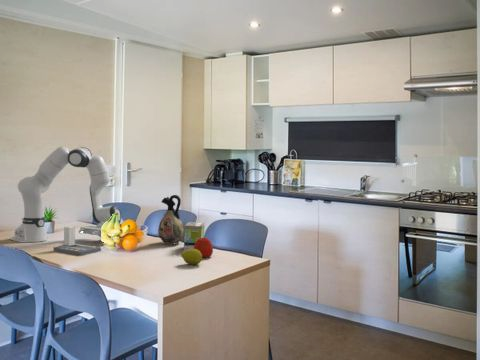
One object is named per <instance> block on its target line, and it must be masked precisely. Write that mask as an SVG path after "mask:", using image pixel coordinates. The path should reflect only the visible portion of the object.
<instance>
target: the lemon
mask: <svg viewBox="0 0 480 360" xmlns="http://www.w3.org/2000/svg"><path fill="white" fill-rule="evenodd" d="M180 256H181V258H182V259H183V261H184V262H185V263H186V264H188V265H189V266H196V265H199V264H200V263H201V262H202V260H203V257H202V254H201V252H200V251H199V250H197V249H188V250H186V251H184V250H183V251H182V252H181V254H180Z"/></svg>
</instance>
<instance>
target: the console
mask: <svg viewBox="0 0 480 360" xmlns="http://www.w3.org/2000/svg"><path fill="white" fill-rule="evenodd" d="M75 244H76V245H77V246H73V247H67V246H62V245H58V246H54V247H53V249H52V250H53V252H57V253H62V254H63V253H64V254H68V255H76V256H80V257H81V256H85V255H89V254H94V253H98V252H101V251H102V247H99V246H96V245H93V246H92V245H87V244H81V243H80V244H79V243H75Z"/></svg>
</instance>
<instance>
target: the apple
mask: <svg viewBox="0 0 480 360" xmlns="http://www.w3.org/2000/svg"><path fill="white" fill-rule="evenodd" d="M194 249H197V250H199V251H200V252H201V254H202V258H210V257H211V256H212V255H213V252H214V248H213V243H212V241H211V240H210V239H209V238H208V237H204V238H199V239H198V240H197V241H196V243H195V245H194Z"/></svg>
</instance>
